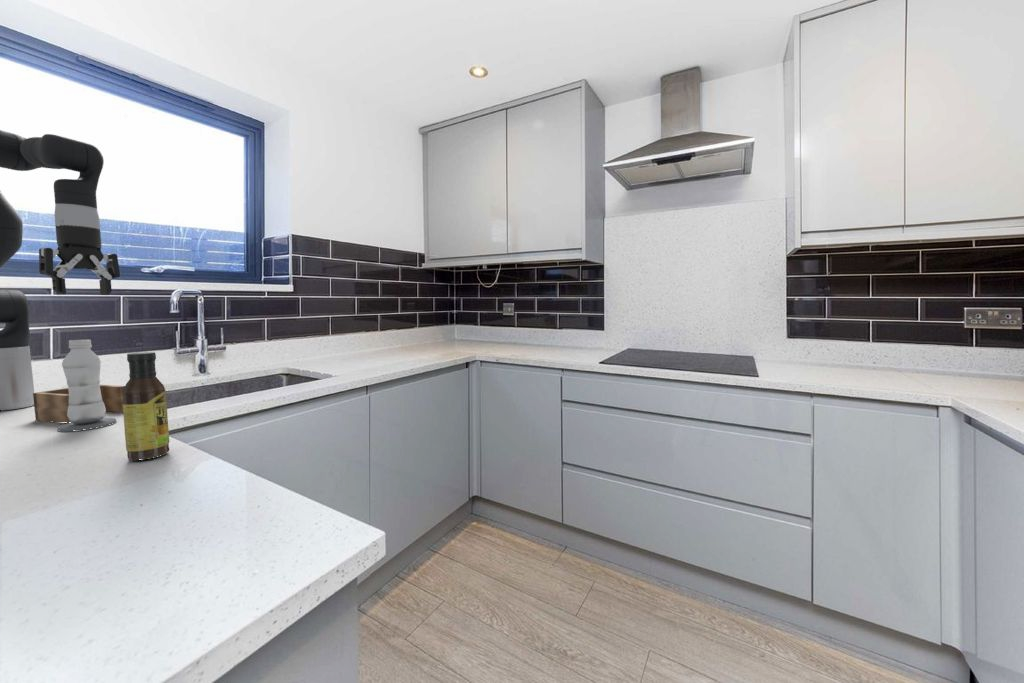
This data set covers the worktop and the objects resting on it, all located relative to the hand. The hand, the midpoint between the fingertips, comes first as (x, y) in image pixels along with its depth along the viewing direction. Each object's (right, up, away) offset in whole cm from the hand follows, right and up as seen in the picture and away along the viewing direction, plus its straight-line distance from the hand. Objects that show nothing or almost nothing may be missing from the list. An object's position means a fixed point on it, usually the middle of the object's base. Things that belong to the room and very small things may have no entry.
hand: (83, 294), depth 103 cm
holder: (-8, -31, +8) cm, 33 cm away
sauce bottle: (+35, -34, -22) cm, 53 cm away
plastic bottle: (+2, -31, -1) cm, 31 cm away
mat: (+2, -32, -1) cm, 32 cm away
